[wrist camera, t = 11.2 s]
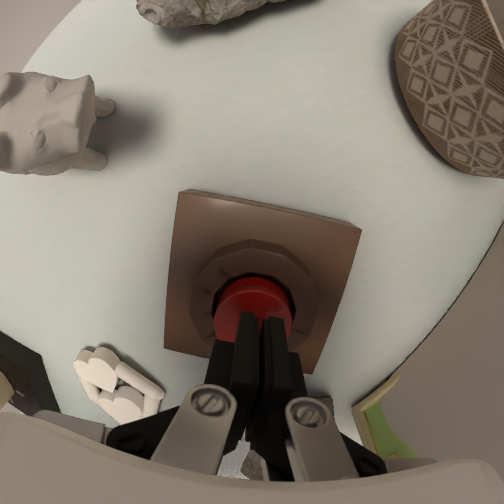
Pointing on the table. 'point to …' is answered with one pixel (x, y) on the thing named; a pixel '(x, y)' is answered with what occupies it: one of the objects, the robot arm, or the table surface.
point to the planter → (457, 81)
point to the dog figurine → (48, 123)
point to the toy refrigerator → (379, 426)
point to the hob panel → (26, 378)
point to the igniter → (254, 268)
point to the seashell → (194, 11)
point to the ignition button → (250, 305)
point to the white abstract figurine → (106, 377)
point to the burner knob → (5, 390)
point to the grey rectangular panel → (458, 377)
